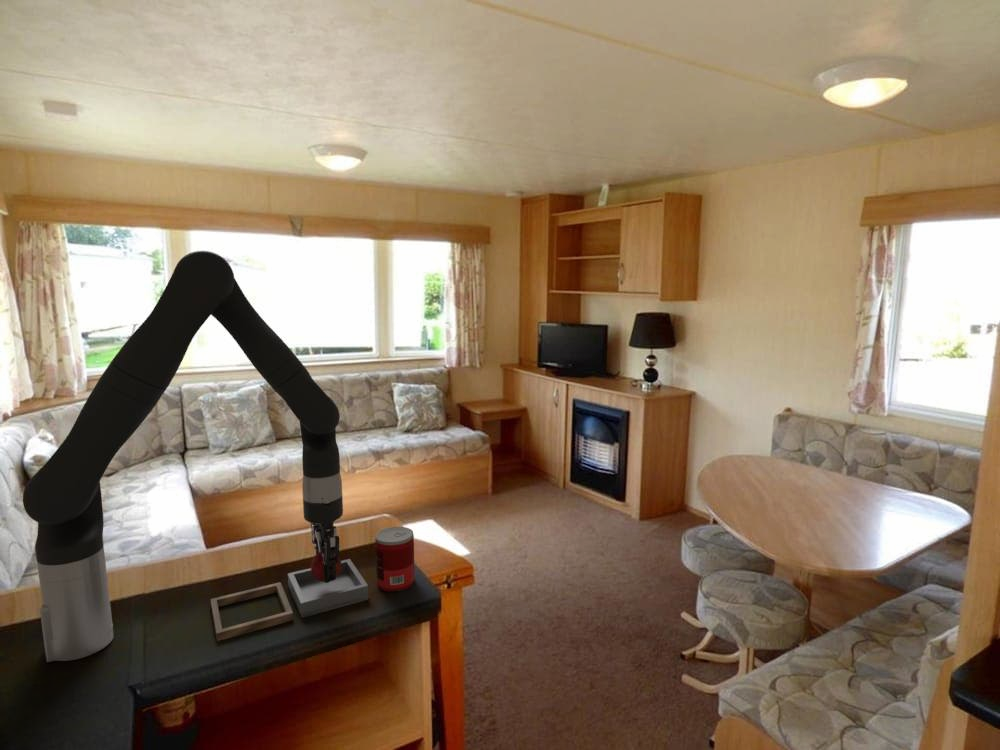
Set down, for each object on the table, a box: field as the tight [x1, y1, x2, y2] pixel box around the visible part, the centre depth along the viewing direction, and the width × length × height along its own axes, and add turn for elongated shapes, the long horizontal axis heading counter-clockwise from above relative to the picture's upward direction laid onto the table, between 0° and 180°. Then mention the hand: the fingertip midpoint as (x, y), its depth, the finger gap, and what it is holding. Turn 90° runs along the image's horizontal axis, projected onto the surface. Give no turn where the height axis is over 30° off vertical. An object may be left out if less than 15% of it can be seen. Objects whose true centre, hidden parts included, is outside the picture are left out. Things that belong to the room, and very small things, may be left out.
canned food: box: [374, 526, 415, 592], centre depth 123 cm, size 8×8×11 cm
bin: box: [287, 558, 370, 618], centre depth 119 cm, size 13×13×3 cm
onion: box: [310, 546, 342, 583], centre depth 118 cm, size 6×6×8 cm
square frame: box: [210, 581, 294, 642], centre depth 112 cm, size 13×13×2 cm
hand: (326, 573), depth 119 cm, fingers closed on onion, 5 cm apart
